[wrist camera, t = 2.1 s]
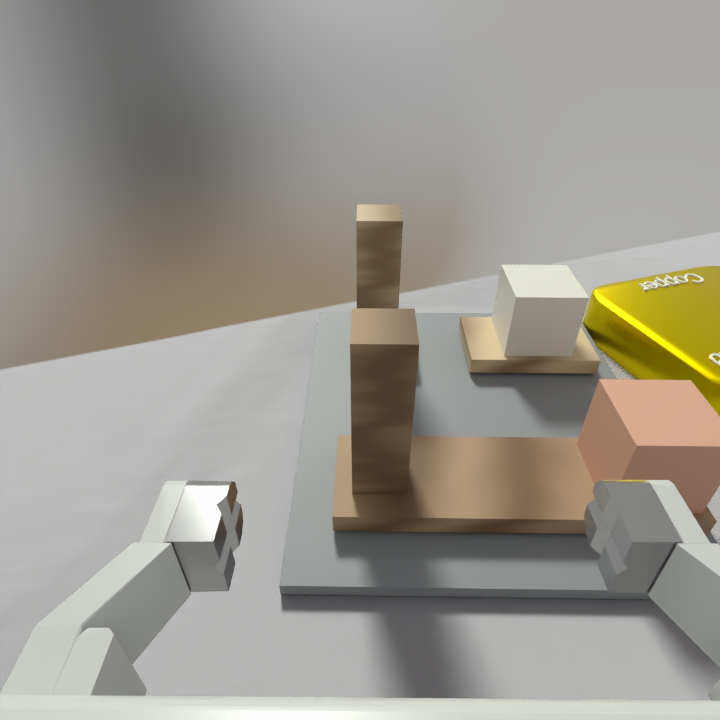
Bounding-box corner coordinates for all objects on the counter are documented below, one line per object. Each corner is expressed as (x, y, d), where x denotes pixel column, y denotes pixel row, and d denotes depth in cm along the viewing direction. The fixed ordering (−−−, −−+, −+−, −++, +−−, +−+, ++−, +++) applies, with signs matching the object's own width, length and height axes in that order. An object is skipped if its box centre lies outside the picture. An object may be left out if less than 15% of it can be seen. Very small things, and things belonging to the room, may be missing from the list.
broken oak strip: (356, 371, 39) (356, 230, 32) (358, 327, 44) (357, 197, 37) (596, 373, 39) (645, 231, 32) (571, 329, 44) (609, 198, 37)
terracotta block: (606, 512, 27) (636, 445, 24) (576, 443, 31) (598, 379, 28) (701, 513, 27) (743, 446, 24) (659, 444, 31) (690, 380, 28)
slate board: (281, 594, 26) (279, 585, 26) (320, 319, 47) (319, 312, 47) (740, 600, 26) (747, 592, 25) (574, 321, 47) (577, 314, 46)
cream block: (504, 355, 39) (516, 297, 36) (491, 320, 43) (501, 264, 40) (571, 356, 39) (589, 297, 36) (552, 320, 43) (566, 265, 40)
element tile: (698, 302, 51) (718, 256, 48) (861, 397, 39) (901, 345, 36) (569, 329, 47) (583, 281, 44) (709, 443, 35) (740, 389, 32)
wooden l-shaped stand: (332, 530, 28) (324, 364, 21) (338, 449, 33) (332, 292, 26) (707, 535, 28) (817, 368, 21) (657, 452, 33) (734, 295, 26)
